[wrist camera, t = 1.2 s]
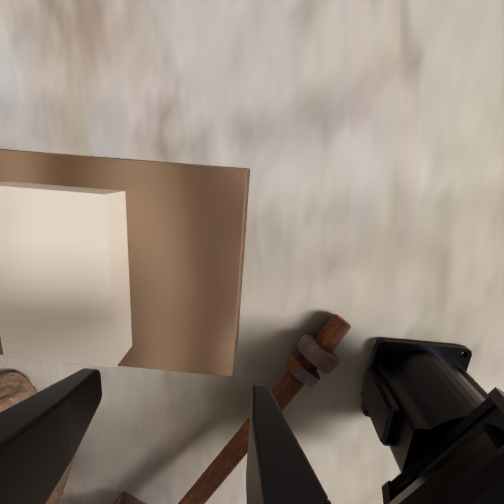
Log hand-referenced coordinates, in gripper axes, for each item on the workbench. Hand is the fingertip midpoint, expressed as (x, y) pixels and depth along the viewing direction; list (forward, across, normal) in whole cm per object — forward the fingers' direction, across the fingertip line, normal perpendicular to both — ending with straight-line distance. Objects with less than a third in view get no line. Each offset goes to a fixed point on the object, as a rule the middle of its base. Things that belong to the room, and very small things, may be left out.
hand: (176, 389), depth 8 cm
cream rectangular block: (+8, +8, 0) cm, 11 cm away
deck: (+12, +7, 0) cm, 14 cm away
